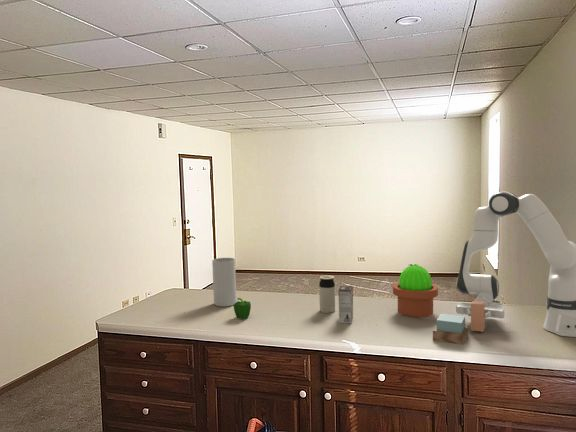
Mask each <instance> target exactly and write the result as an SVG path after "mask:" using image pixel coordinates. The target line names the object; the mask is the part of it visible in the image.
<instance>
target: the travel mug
mask: <svg viewBox="0 0 576 432" xmlns="http://www.w3.org/2000/svg"><path fill="white" fill-rule="evenodd" d="M334 278H335V276H333V275H321V276H319V279H320V280H319V283H318V285H319V287H318V288H319V289H318V291H319V293H318V294H319V311H320V312H321V313H325V314H331V313H334V312H336V286H335V285H336V283H335V281H334V280H335V279H334Z"/></svg>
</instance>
